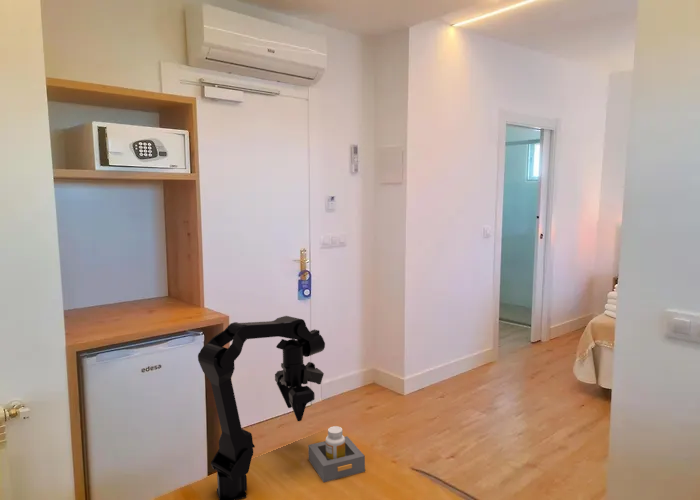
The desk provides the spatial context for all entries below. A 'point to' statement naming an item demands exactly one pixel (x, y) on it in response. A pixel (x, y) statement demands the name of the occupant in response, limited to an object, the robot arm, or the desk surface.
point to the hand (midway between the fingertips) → (294, 414)
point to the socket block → (336, 461)
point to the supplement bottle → (335, 443)
